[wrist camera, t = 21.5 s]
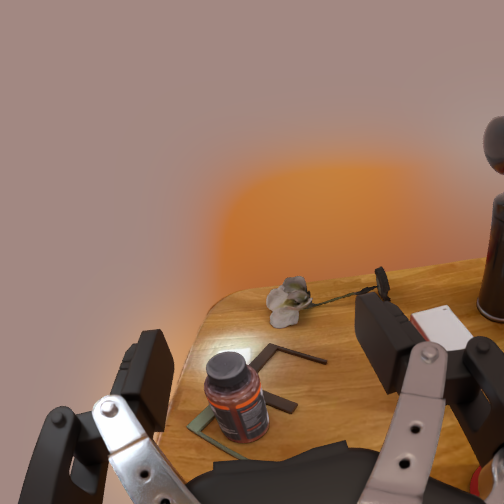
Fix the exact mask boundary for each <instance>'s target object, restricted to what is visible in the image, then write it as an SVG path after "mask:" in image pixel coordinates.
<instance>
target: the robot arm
mask: <svg viewBox="0 0 504 504" xmlns="http://www.w3.org/2000/svg"><path fill="white" fill-rule="evenodd" d="M483 148H484V152H485V156H486V158H487V160H488V162H489V164H490V166H491V167H492V168H493V169H494V170H495V171H496V172H498V173H500V174H502V175H504V116H498V117H495V118H493V119H492V120H491V121H490V122H489V123H488V125H487V127H486V129H485V132H484V136H483ZM477 308H478V310H479V311H480V313H481V314H482V315H484V316H485V317H486V318H488V319H490V320H493V321H496V322H503V323H504V192H503V193H501V194H499V195H497V196H496V198H495V199H494V202H493V211H492V222H491V232H490V240H489V247H488V253H487V259H486V265H485V270H484V275H483V280H482V284H481V289H480V293H479V297H478V299H477ZM355 333H356V337H357V339H358V341H359V343H360V345H361V347H362V349H363V350H364V352H365V354H366V356H367V358H368V359H369V361H370V363H371V365H372V367H373V369H374V370H375V372H376V374H377V376H378V378H379V380H380V382H381V383H382V385H383V387H384V389H385V391H386V393H387V395H388V394H391V393H394V392H397V393H398V395H399V399H398V402H397V405H396V409H395V412H394V415H393V418H392V421H391V424H390V426H389V429H388V432H387V435H386V438H385V440H384V443H383V445H382V448H381V451H380V452H377V451H374V450H370V449H365V448H348V446H347V443H346V440H344V441H340V442H336V443H332V444H328V445H324V446H320V447H316V448H313V449H310V450H308V451H306V452H303V453H301V454H299V455H296V456H294V457H292V458H289V459H287V460H284V461H280V462H276V461H261V460H249V459H242V460H232V461H219V462H213V470H212V471H209V472H206V473H204V474H201V475H199V476H197V477H195V478H194V479H192V480H191V481H189V482H188V483H187V482H186V481H185V480H184V479H183V477H182V476H181V475H180V474H179V473H178V472H177V470H176V469H175V468H174V467H173V465H172V464H171V463H170V461H169V460H168V459H167V458H166V456H165V455H164V454H163V452H162V451H161V450H160V448H159V447H158V445H157V444H156V443H155V441H154V440H153V435H154V432H164V428H165V422H166V416H167V409H168V403H169V397H170V392H171V385H172V380H173V374H174V361H173V357H172V354H171V352H170V349H169V347H168V345H167V342H166V340H165V337H164V335H163V332H162V331H161V330H160V329H156V330H147V331H142V333H141V335H140V338H139V341H138V343H136V344H132V346H131V347H130V348H129V349H128V350H127V351H126V352H125V355H124V358H123V360H122V363H121V365H120V370H119V371H118V373H117V376H116V379H115V381H114V384H113V387H112V390H111V392H110V395H108V396H105V397H103V398H101V399H100V400H99V401H97V403H96V404H95V405H94V407H93V410H92V411H89V412H85V413H81V414H76V415H75V413H74V412H73V411H72V410H71V409H70V408H69V407H66V406H60V407H57V408H55V409H53V410H52V411H51V412H50V413H49V414H48V415H47V417H46V419H45V421H44V424H43V427H42V429H41V432H40V435H39V437H38V440H37V443H36V446H35V448H34V452H33V455H32V457H31V460H30V464H29V467H28V470H27V473H26V476H25V480H24V483H23V487H22V491H21V494H20V498H19V502H18V504H102V503H103V495H104V488H105V482H106V476H107V470H108V464H109V461H110V463H111V465H112V467H113V469H114V471H115V472H116V474H117V476H118V478H119V480H120V481H121V483H122V485H123V486H124V488H125V490H126V491H127V493H128V495H129V496H130V498H131V500H132V501H133V503H134V504H504V353H503V352H502V351H501V349H500V348H499V347H498V346H497V345H496V343H495V342H494V341H492V340H491V339H489V338H487V337H483V336H477V337H473V338H471V339H470V340H469V341H468V342H467V345H466V348H465V349H461V350H452V351H446V349H445V348H444V347H443V346H442V345H440V344H438V343H435V342H430V341H426V340H425V339H424V338H423V336H422V335H421V334H420V333H419V332H418V330H417V329H416V328H415V327H414V325H413V324H412V323H411V322H410V321H409V319H408V318H407V317H406V316H405V315H404V313H403V312H402V311H401V310H400V309H399V307H398V306H396V305H395V304H393V303H391V302H389V301H384V302H383V301H382V300H381V299H380V298H379V297H378V295H377V294H376V293H375V292H371V293H366V294H362V295H358V296H356V301H355ZM481 389H482V390H483V392H484V393H485V395H486V396H487V398H488V400H489V401H490V403H489V401H488V400H487V398H486V396H485V395H484V393H483V392H482V390H481ZM445 405H450V407H451V409H452V411H453V413H454V414H455V416H456V418H457V420H458V422H459V424H460V426H461V428H462V429H463V431H464V433H465V435H466V437H467V439H468V441H469V443H470V445H471V447H472V449H473V451H474V453H475V455H476V457H477V459H478V461H479V464H480V466H481V468H482V470H481V471H480V474H479V477H478V491H479V492H480V494H479V497H478V496H476V495H473V494H471V493H468V492H465V491H463V490H460V489H458V488H455V487H453V486H450V485H448V484H446V483H443V482H441V481H439V480H436V479H434V478H432V477H430V476H429V475H430V471H431V468H432V464H433V460H434V457H435V453H436V449H437V445H438V440H439V436H440V431H441V426H442V421H443V416H444V410H445ZM73 456H74V457H75V458H74V462H73V466H72V470H71V474H70V475H69V469H70V465H71V461H72V457H73Z"/></svg>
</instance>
